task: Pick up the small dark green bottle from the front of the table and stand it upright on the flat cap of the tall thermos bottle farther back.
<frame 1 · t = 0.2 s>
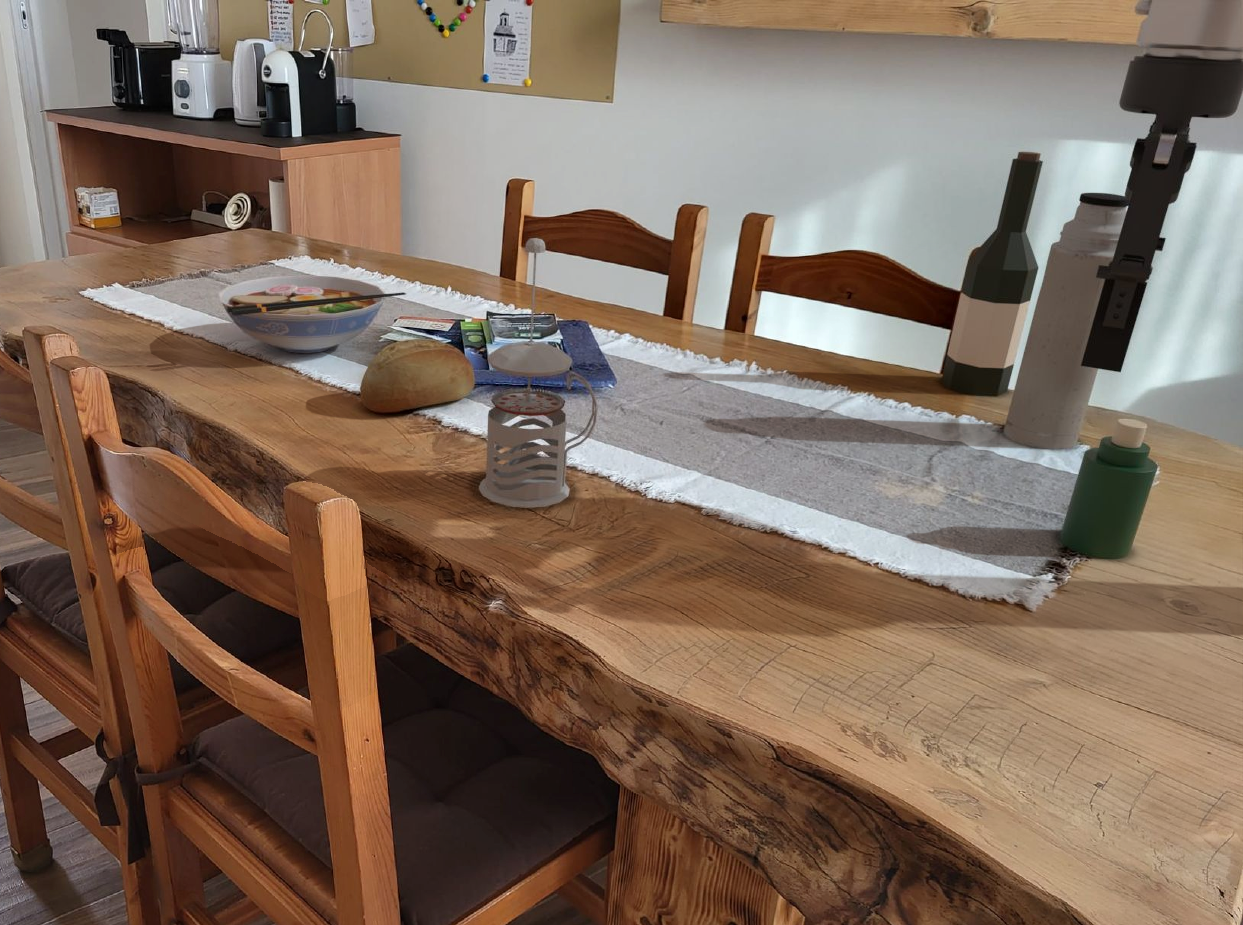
hand: (1106, 347, 86), 21 cm above the table, tool pointing down, fingers open, 13 cm apart
bread roll: (420, 406, 131), on the table
thermos bottle: (1038, 441, 128), on the table
wine bottle: (972, 390, 145), on the table
french press: (532, 493, 109), on the table
ramen bowl: (305, 347, 151), on the table
green bottle: (1093, 548, 102), on the table
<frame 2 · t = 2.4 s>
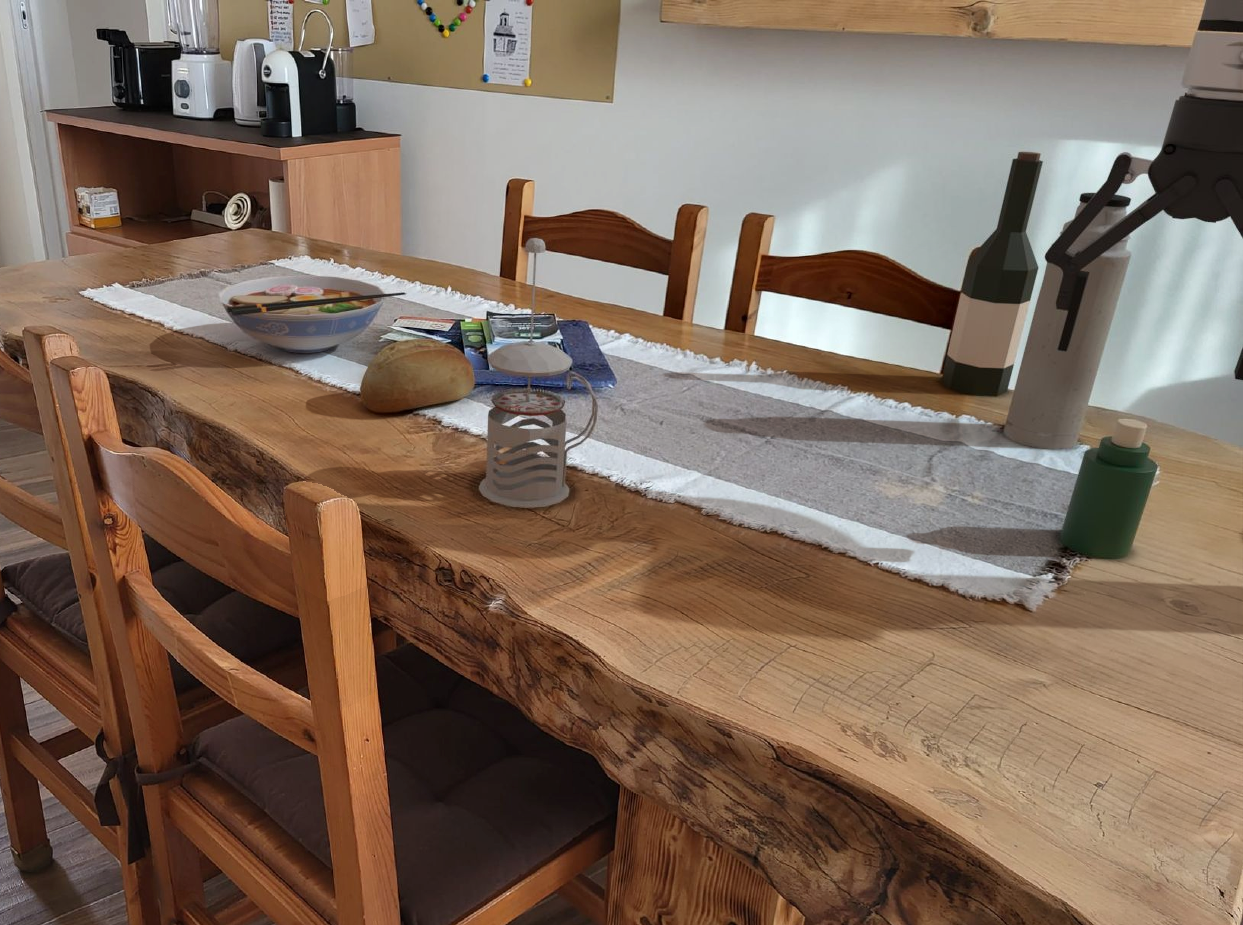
hand: (1148, 361, 93), 18 cm above the table, tool pointing down, fingers open, 13 cm apart
nothing on the table moved.
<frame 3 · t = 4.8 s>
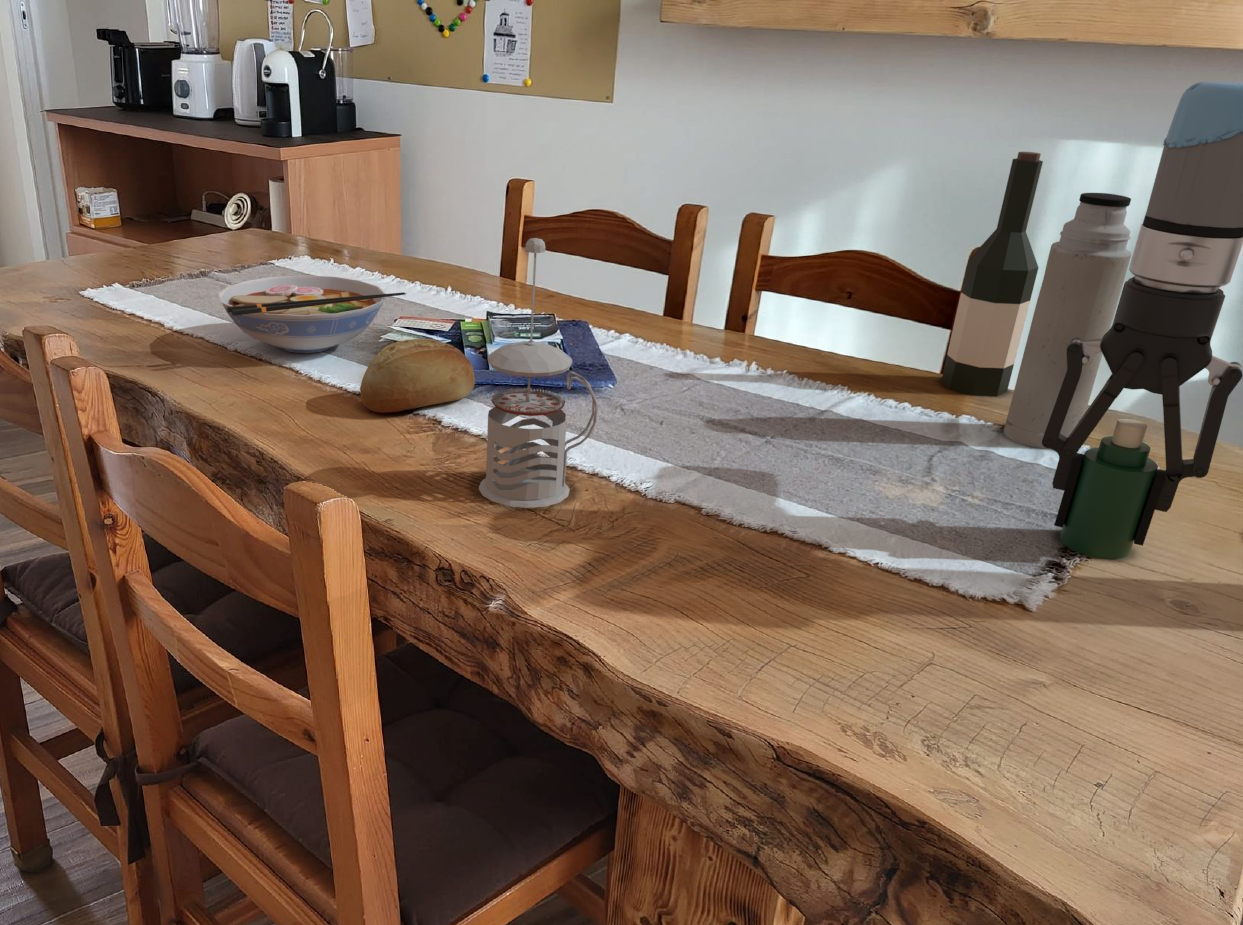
hand: (1098, 529, 101), 2 cm above the table, tool pointing down, fingers closed on green bottle, 6 cm apart
green bottle: (1093, 548, 102), on the table, touching gripper
everything else where it was.
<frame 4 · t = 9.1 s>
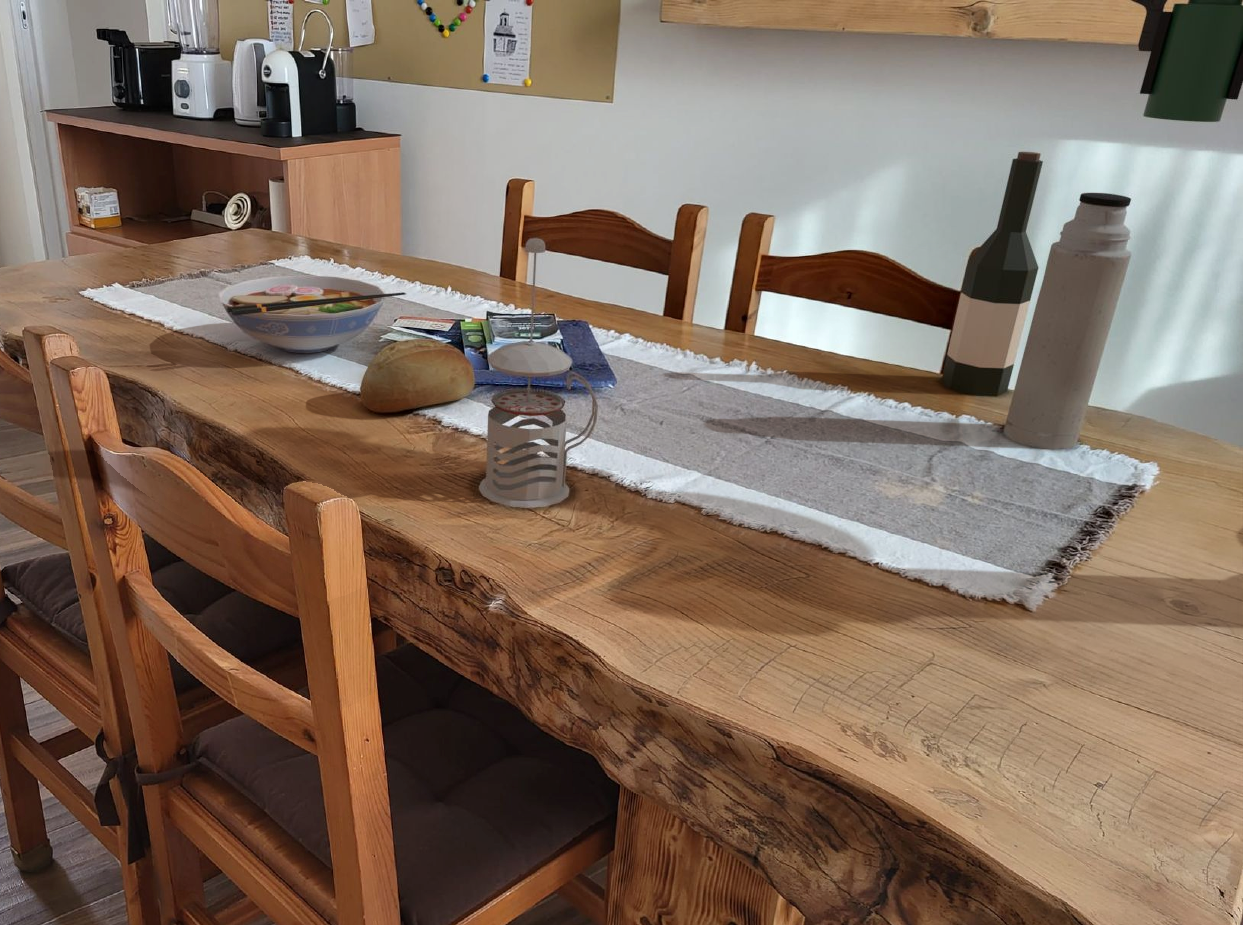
hand: (1187, 95, 95), 39 cm above the table, tool pointing down, fingers closed on green bottle, 6 cm apart
green bottle: (1180, 118, 95), point 37 cm above the table, touching gripper
everything else where it was.
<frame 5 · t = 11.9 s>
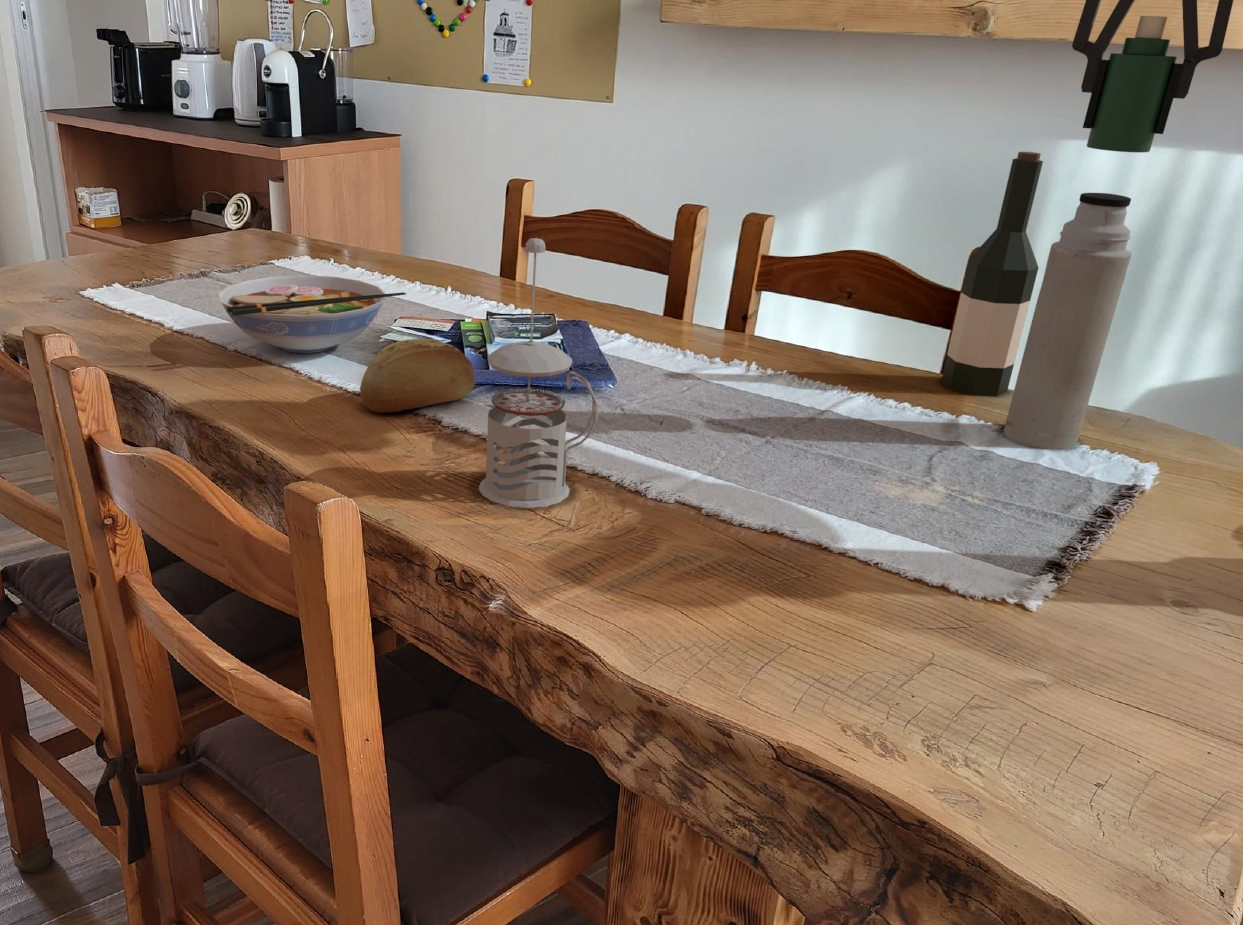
hand: (1122, 129, 112), 34 cm above the table, tool pointing down, fingers closed on green bottle, 6 cm apart
green bottle: (1117, 148, 113), point 33 cm above the table, touching gripper
everything else where it was.
when the fingers open (30 cm above the table, at t = 13.6 s): green bottle stays where it is, resting on thermos bottle.
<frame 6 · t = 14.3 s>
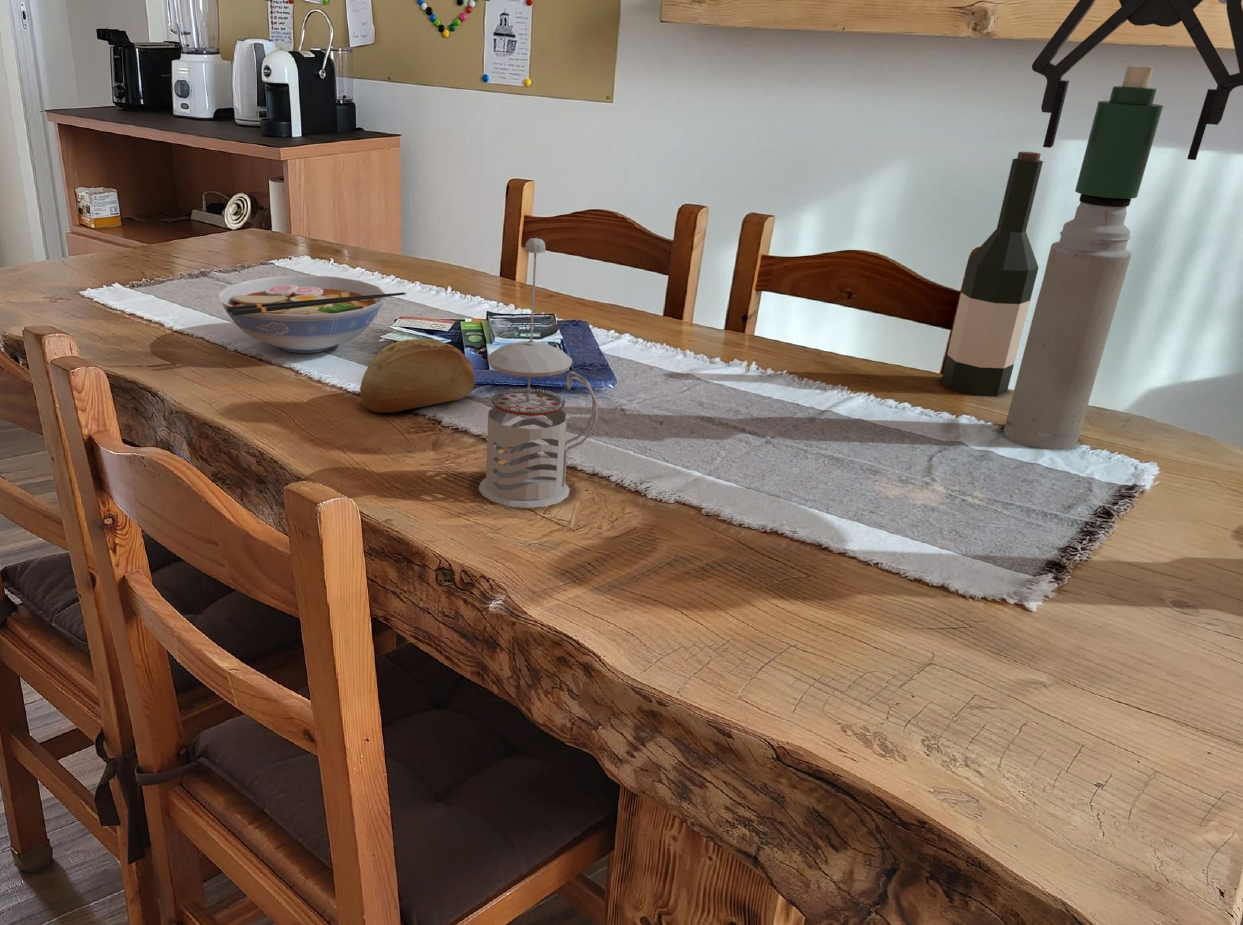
hand: (1117, 152, 113), 32 cm above the table, tool pointing down, fingers open, 13 cm apart
thermos bottle: (1038, 441, 128), on the table, touching green bottle
green bottle: (1105, 193, 115), point 28 cm above the table, touching thermos bottle
everything else where it was.
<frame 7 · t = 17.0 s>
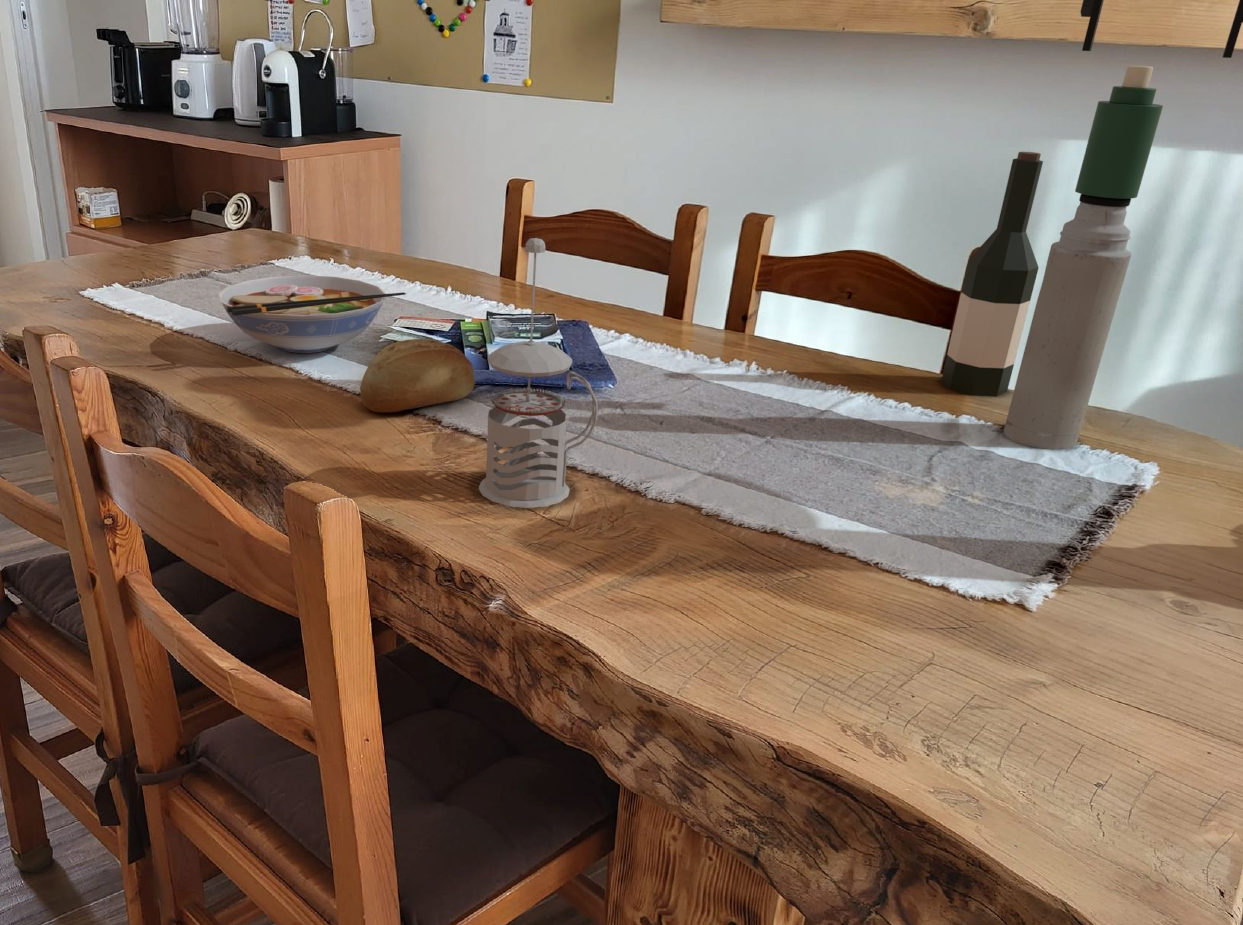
hand: (1154, 54, 118), 41 cm above the table, tool pointing down, fingers open, 13 cm apart
nothing on the table moved.
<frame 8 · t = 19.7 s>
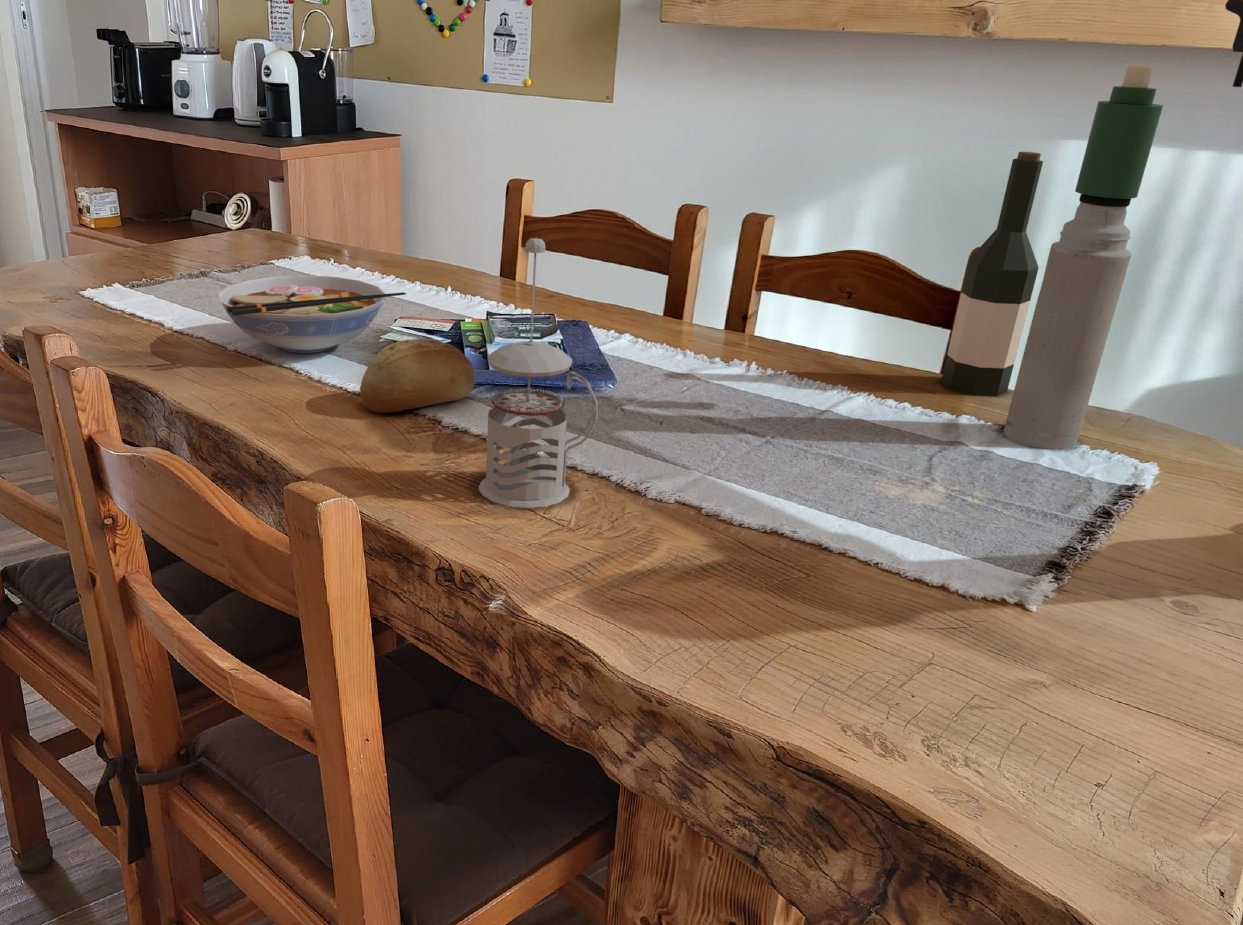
nothing on the table moved.
at the end: green bottle 0.1 cm off-centre on the thermos bottle, point 28.2 cm above the thermos bottle's base; green bottle tilted 0°; thermos bottle tilted 0° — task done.
